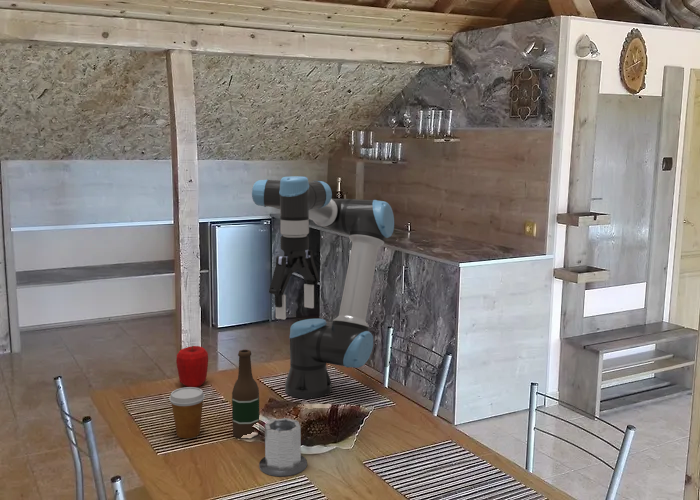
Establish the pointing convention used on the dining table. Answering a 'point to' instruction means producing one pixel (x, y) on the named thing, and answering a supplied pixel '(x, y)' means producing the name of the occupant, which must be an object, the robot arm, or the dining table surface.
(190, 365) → the apple
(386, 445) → the dining table surface
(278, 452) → the sleeve
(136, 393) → the dining table surface
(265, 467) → the duct stub
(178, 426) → the disposable coffee cup
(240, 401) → the beer bottle
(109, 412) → the dining table surface
